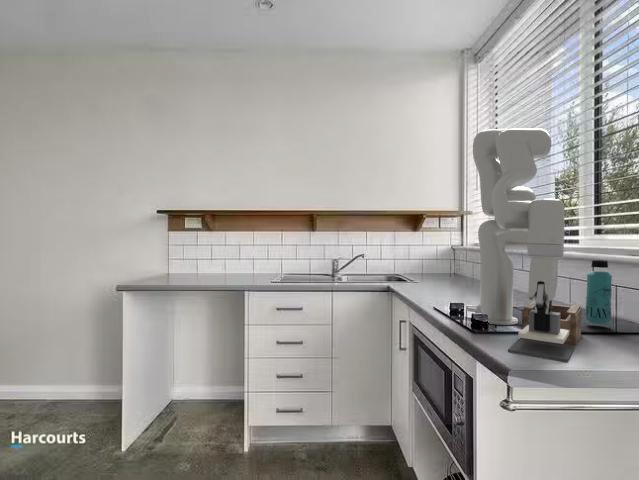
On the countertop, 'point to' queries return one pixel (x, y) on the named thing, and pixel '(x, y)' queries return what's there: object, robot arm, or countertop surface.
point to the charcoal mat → (542, 349)
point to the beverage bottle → (598, 294)
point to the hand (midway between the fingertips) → (543, 328)
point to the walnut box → (562, 320)
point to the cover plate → (552, 336)
